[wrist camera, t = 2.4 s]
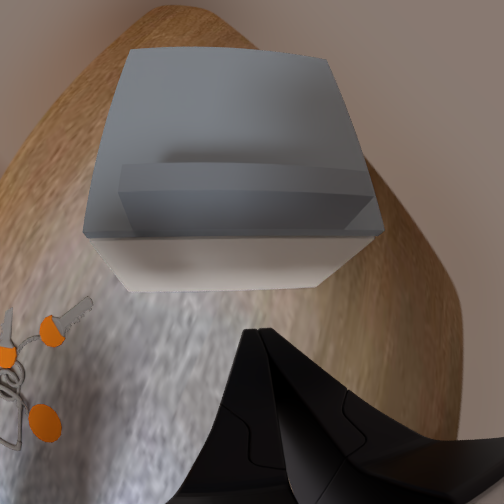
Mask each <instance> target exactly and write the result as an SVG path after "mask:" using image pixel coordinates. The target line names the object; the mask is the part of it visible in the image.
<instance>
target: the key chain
mask: <svg viewBox="0 0 504 504" xmlns="http://www.w3.org/2000/svg"><path fill="white" fill-rule="evenodd" d="M92 306H93V301H92V299H91V298H89V297H88V296H87V297H85V298H84V299H83V300H82V301H80V302H79V303H78V304H77V305H75V306H74V307H73V308H72V309H70V310H69V311H68V312H67V313H66V314H64V315H63V316H62V317H61V318H58V317H52V315H51V316H48V317H46V318H45V319H44V320H43V322H42V323H41V326H40V332H39V333H40V336H39V337H37V336H33V337H32V338H31V337H29V338H27V340H24V341H23V343H22V344H20V345H19V348H18V349H17V350H16V347H14V345H13V343H12V342H11V330H12V314H13V307H12V308H10V309H9V310H7V311H6V312H5V319H4V323H2V324H1V326H2V330H3V333H1V336H0V339H2V340H1V341H0V366H1V367H3V368H4V369H1V370H0V375H2V374H4V376H5V379H6V381H7V383H8V384H9V385H10V386H12V387H17V391H16V393H14V392H13V391H12V390H10V389H9V388H7V387H5V386H3V385H1V384H0V390H3V391H5V392H6V393H8V394H10V395H11V396H12V397H7V396H5V395H4V394H3V393H2V392H1V391H0V397H1V398H3V399H4V400H6V401H15V400H17V403H16V405H17V408H18V440H17V444H16V445H15V446H14V445H11V444H9V443H7V442H5V441H3V440H2V439H1V438H0V443H1V444H2V445H4V446H6V447H8V448H10V449H13V450H16V451H20V450H21V444H22V443H21V409H23V408H22V404H23V405H24V407H25V408H26V415H27V414H28V408H27V406H26V404H25V403H24V402H22V399H21V397H20V396H19V394H20V385H21V384H22V383H23V380H24V370H23V367H22V365H21V364H20V363H19V362H18V361H17V355H19V353H20V351H19V350H21V349H22V348H23V345H24V346H25V345H26V344H27V342H31V341H32V340H33V341H35V340H37V339H39V340H42V341H43V342H44V343H45V344H46V345H47V346H50V347H56V346H59V345H61V344H62V342H63V341H64V340H65V331H66V329H67V331H69V330H70V327H71V326H72V325H71V323H72V322H73V323H74V324H75V323H76V322H77V323H78V322H80V320H79V318H78V317H80V316H81V317H84V314H83V313H85V312H86V311H87V310H89V312H90V311H91V310H92V308H91V307H92ZM14 364H16V365H18V367H19V368H20V371H21V378H20V380H19V379H18V377H17V376H16V375H15V373H14V372H12V371H11V370H9V369H8V368H11V367H12V366H13V365H14ZM7 374H9V375H11V376H12V377H13V378H14V379H15V381H16V383H15V384H14V383H12V382H10V380H9V379H8V376H7ZM28 420H29V425H30V428H31V429H32V431H33V433H34V434H35V435H36V436H37V437H38V438H39V439H40V440H42V441H44V442H51V443H52V442H54V441H56V440H58V438H59V437H60V435H61V430H62V426H61V421H60V419H59V417H58V415H57V413H56V412H55V411H54V410H53V409H52V408H51V407H49V406H47V405H44V404H37V405H35V406H33V407H32V409H31V410H30V412H29V418H28Z"/></svg>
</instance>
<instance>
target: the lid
mask: <svg viewBox="0 0 504 504" xmlns="http://www.w3.org/2000/svg"><path fill="white" fill-rule="evenodd" d="M383 231H385V229H384V225H383V221H382V217H381V213H380V210H379V206H378V202H377V199H376V195H375V192H374V188H373V185H372V181H371V178H370V175H369V172H368V168H367V165H366V162H365V159H364V156H363V153H362V150H361V147H360V144H359V141H358V138H357V135H356V132H355V130H354V127H353V124H352V121H351V119H350V116H349V114H348V111H347V108H346V106H345V103H344V100H343V98H342V95H341V93H340V91H339V88H338V86H337V83H336V81H335V79H334V76H333V74H332V71H331V69H330V67H329V65H328V62H327V60H326V59H320V58H315V57H309V56H302V55H296V54H289V53H281V52H272V51H263V50H253V49H240V48H221V47H162V48H144V49H131V50H130V52H129V55H128V57H127V60H126V63H125V65H124V68H123V71H122V74H121V76H120V79H119V82H118V85H117V88H116V91H115V94H114V97H113V100H112V104H111V107H110V110H109V113H108V117H107V120H106V124H105V127H104V131H103V135H102V138H101V142H100V146H99V150H98V154H97V158H96V163H95V167H94V172H93V176H92V181H91V186H90V191H89V196H88V202H87V207H86V213H85V219H84V226H83V233H84V234H85V236H86V237H87V238H125V237H180V236H379V235H380V234H381V233H382V232H383Z"/></svg>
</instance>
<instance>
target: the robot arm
mask: <svg viewBox="0 0 504 504" xmlns="http://www.w3.org/2000/svg"><path fill="white" fill-rule="evenodd" d="M288 478H289V480H288ZM289 481H290V483H291V486H292V489H293V492H294V494H293V492H292V490H291V487H290V484H289ZM294 495H295V496H294ZM165 504H504V437H501V438H491V439H477V440H455V441H440V440H434V439H430V438H427V437H424V436H422V435H420V434H418V433H416V432H415V431H413V430H411V429H409V428H408V427H406V426H404V425H402V424H401V423H399V422H397V421H395V420H394V419H392V418H390V417H388V416H387V415H385V414H383V413H382V412H380V411H379V410H377V409H375V408H374V407H372V406H371V405H369V404H368V403H367V402H365V401H364V400H362V399H361V398H360V397H358V396H357V395H356V394H354V393H353V392H352V391H350V390H347V388H346V387H345V386H344V385H342V384H341V383H340V382H339V381H337V380H336V379H335V378H333V377H332V376H331V375H330V374H328V373H327V372H326V371H324V370H323V369H322V368H321V367H319V366H318V365H317V364H316V363H314V362H313V361H312V360H311V359H309V358H308V357H307V356H306V355H304V354H303V353H302V352H301V351H299V350H298V349H297V348H296V347H294V346H293V345H292V344H291V343H290V342H288V341H287V340H286V339H285V338H283V337H282V336H281V335H280V334H279V333H277V332H276V331H275V330H274V329H272V328H259V329H258V330H257V329H244V330H243V332H242V335H241V339H240V342H239V345H238V348H237V352H236V355H235V358H234V361H233V365H232V368H231V371H230V374H229V377H228V381H227V384H226V387H225V390H224V393H223V397H222V400H221V403H220V406H219V409H218V412H217V415H216V418H215V421H214V423H213V426H212V429H211V431H210V433H209V435H208V437H207V440H206V442H205V444H204V446H203V448H202V449H201V451H200V453H199V455H198V457H197V459H196V461H195V462H194V464H193V466H192V468H191V470H190V471H189V473H188V475H187V477H186V479H185V480H184V482H183V483H182V485H181V487H180V488H179V490H178V491H177V492H176V493H175V495H174V496H173V497H172V498H171V499H170V500H169V501H168V502H167V503H165Z"/></svg>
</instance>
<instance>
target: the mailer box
mask: <svg viewBox="0 0 504 504" xmlns="http://www.w3.org/2000/svg"><path fill="white" fill-rule="evenodd" d="M374 239H375V237H374V236H180V237H125V238H90V243H91V244H92V245H93V247H94V248H95V249H96V251H97V252H98V253H99V255H100V256H101V257H102V259H103V260H104V261H105V262H106V264H107V265H108V266H109V268H110V269H111V270H112V271H113V273H114V274H115V275H116V276H117V278H118V279H119V280H120V281H121V283H122V284H123V285H124V286H125V288H126V289H127V290H128V291H129V292H198V291H237V290H265V289H289V288H309V287H316V286H318V285H319V284H320V283H321V282H323V281H324V280H325V279H327V278H328V277H329V276H330V275H332V274H333V273H334V272H335V271H337V270H338V269H339V268H340V267H341V266H343V265H344V264H345V263H346V262H348V261H349V260H350V259H351V258H352V257H354V256H355V255H356V254H357V253H359V252H360V251H361V250H362V249H363V248H365V247H366V246H367V245H368V244H369V243H370V242H372V241H373V240H374Z"/></svg>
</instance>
